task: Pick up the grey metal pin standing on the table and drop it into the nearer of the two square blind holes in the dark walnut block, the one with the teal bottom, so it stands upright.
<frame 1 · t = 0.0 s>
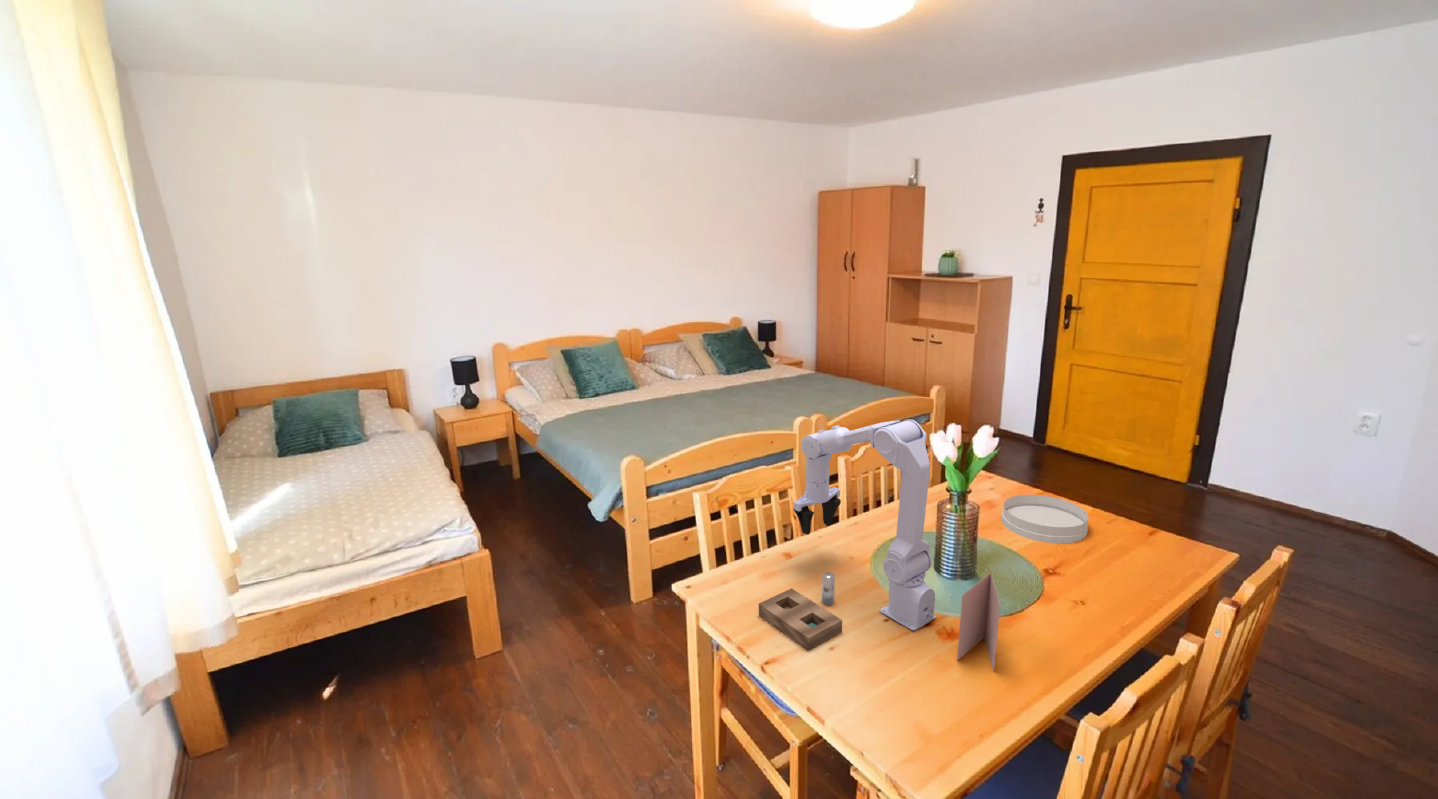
hand: (816, 528, 163), 10 cm above the table, fingers open, 7 cm apart
pin: (828, 601, 150), on the table
dish: (1043, 526, 184), on the table
greeting card: (984, 655, 130), on the table
hole block: (799, 623, 142), on the table
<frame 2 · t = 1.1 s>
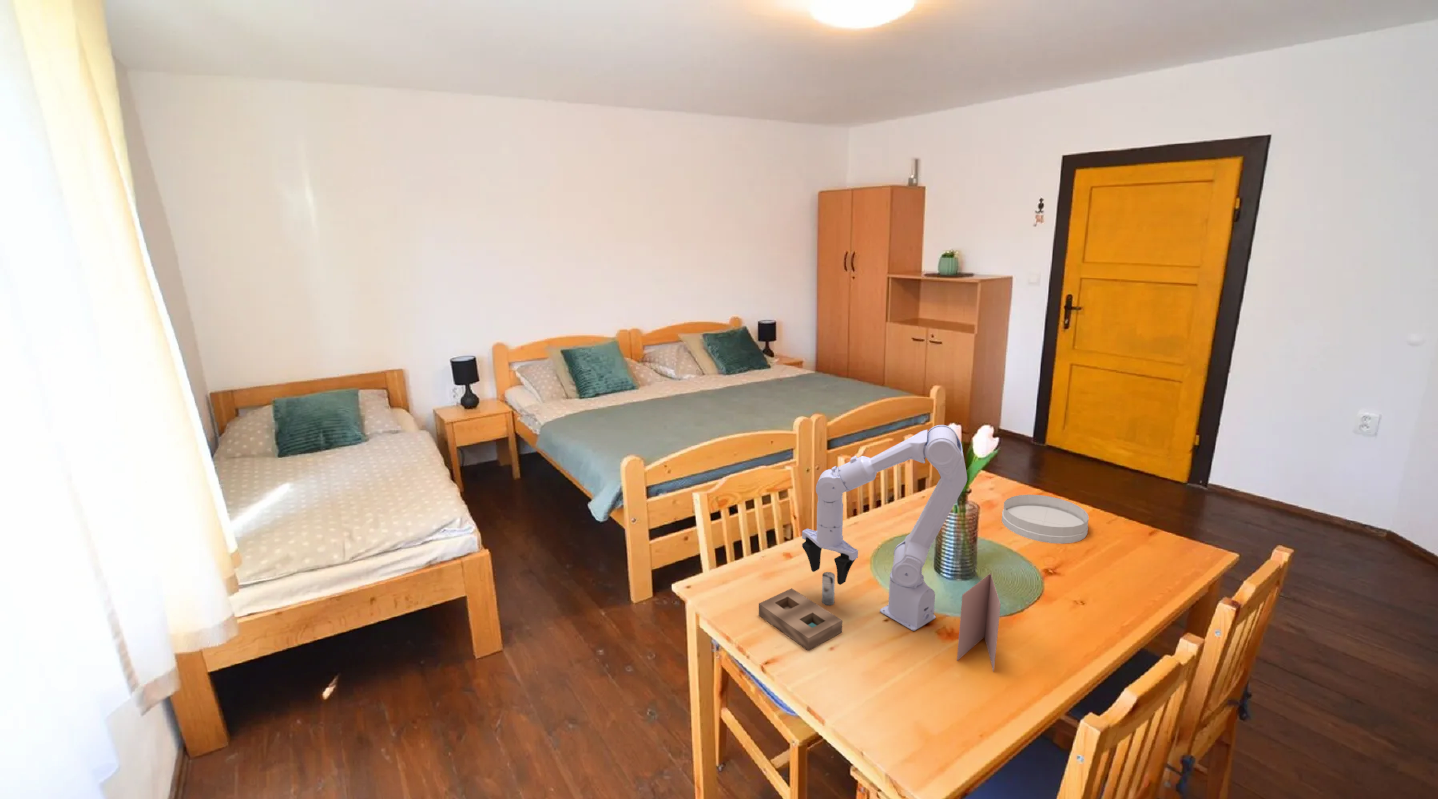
hand: (828, 576, 148), 7 cm above the table, fingers open, 7 cm apart
nothing on the table moved.
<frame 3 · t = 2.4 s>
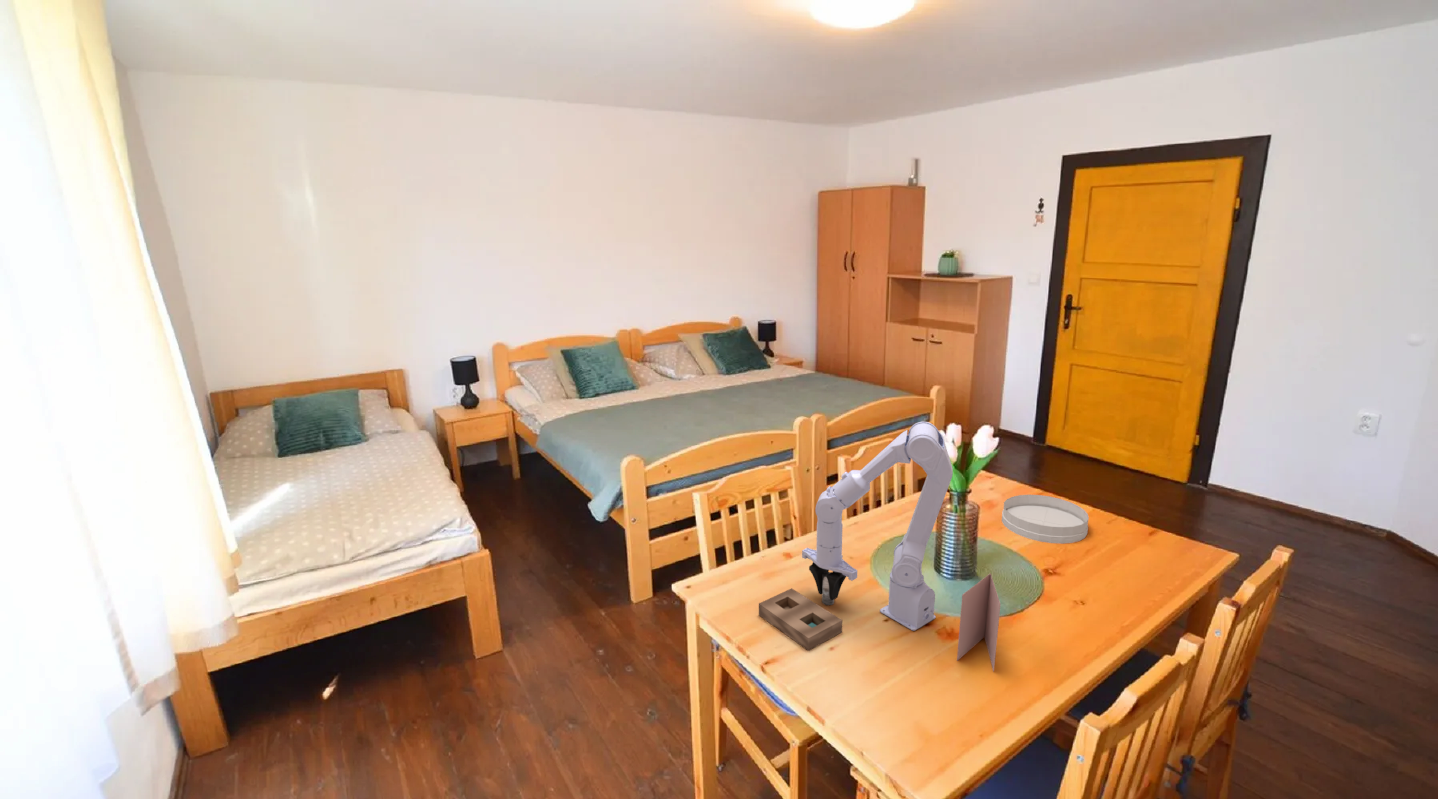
hand: (828, 595, 149), 2 cm above the table, fingers closed on pin, 3 cm apart
pin: (828, 601, 150), on the table, touching gripper
everything else where it was.
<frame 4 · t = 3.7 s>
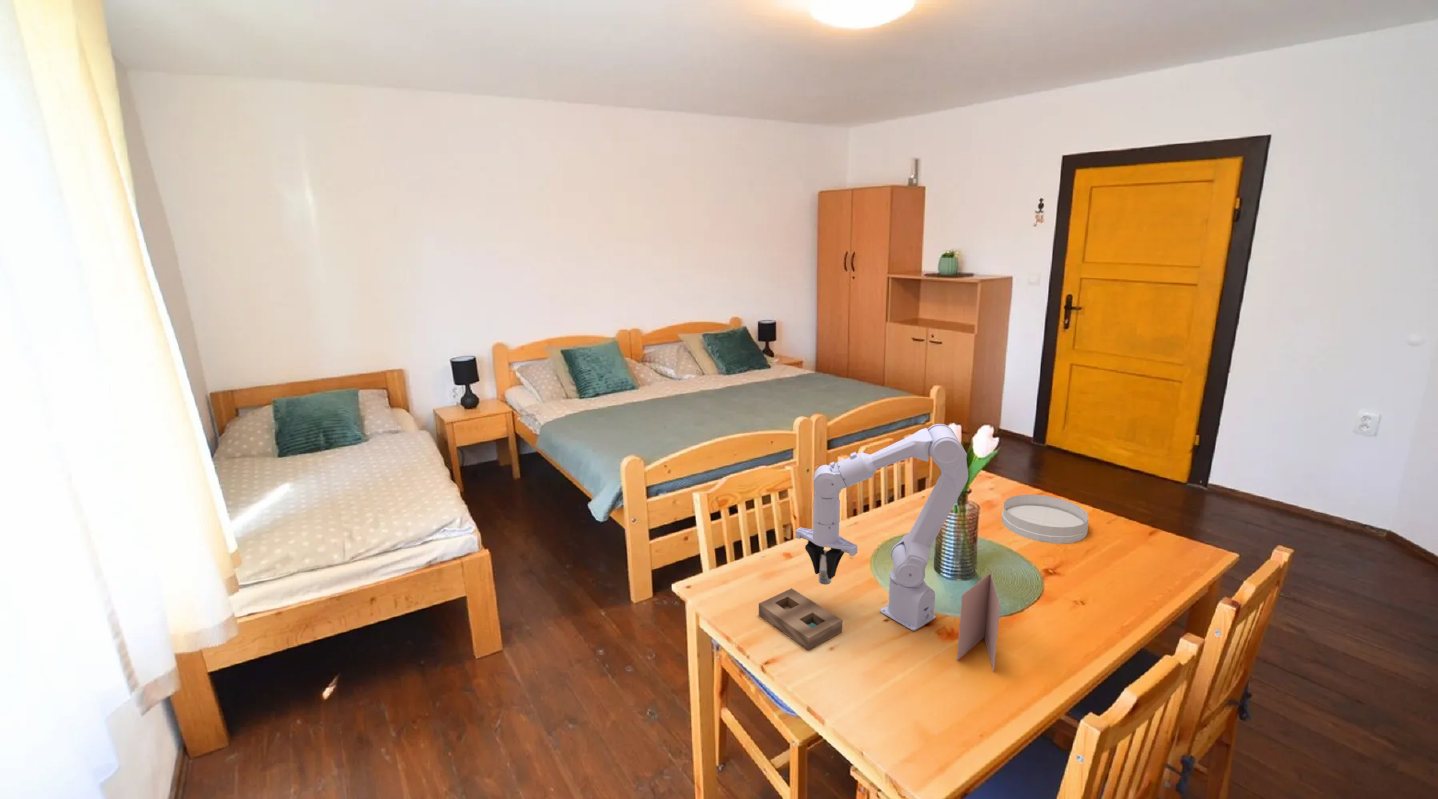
hand: (825, 574, 145), 9 cm above the table, fingers closed on pin, 3 cm apart
pin: (824, 581, 145), point 7 cm above the table, touching gripper
everything else where it was.
when the fingers open (4 cm above the table, at t = 5.5 s): pin drops 1 cm, resting on hole block.
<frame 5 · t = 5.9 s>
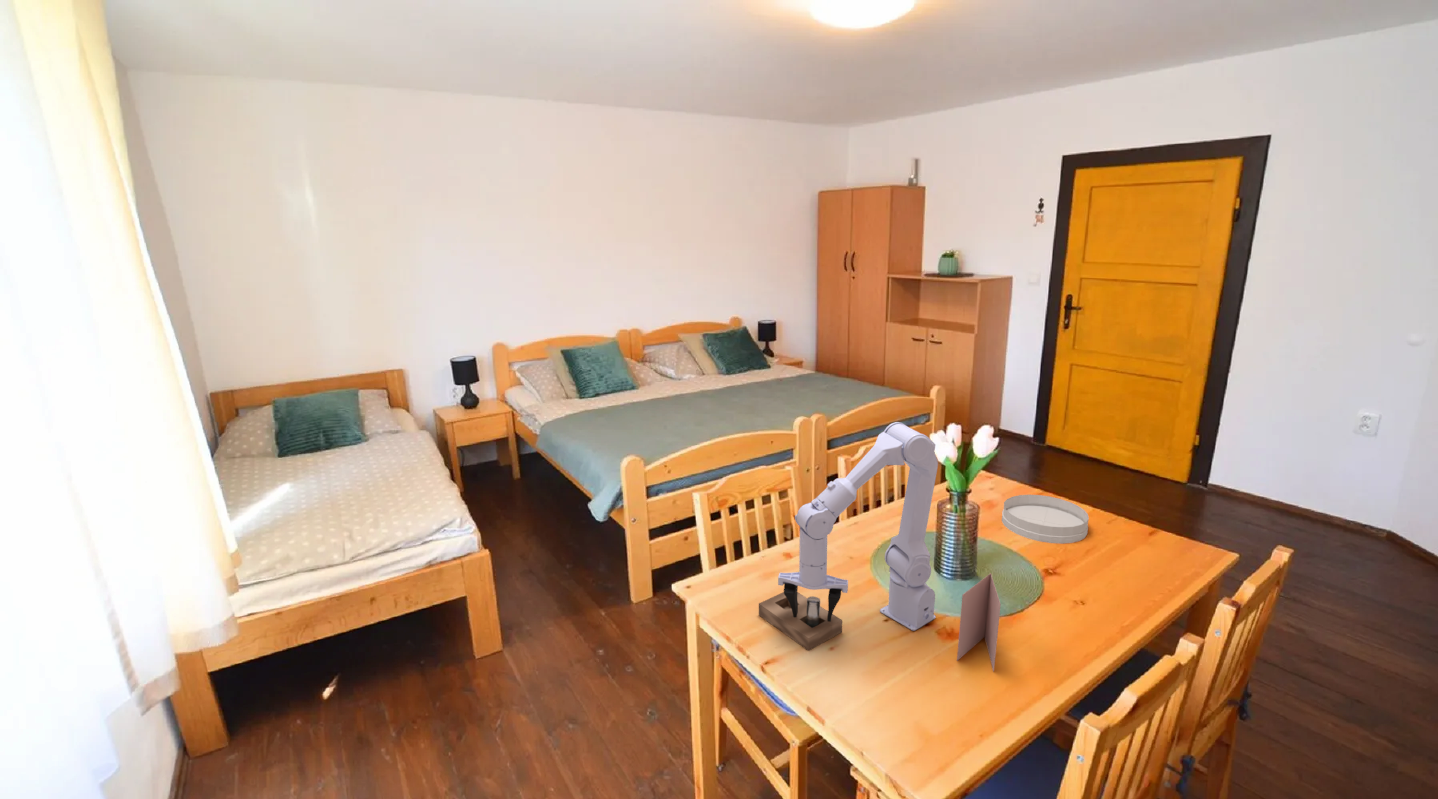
hand: (812, 616, 138), 4 cm above the table, fingers open, 7 cm apart
pin: (812, 629, 138), point 1 cm above the table, touching hole block
everything else where it was.
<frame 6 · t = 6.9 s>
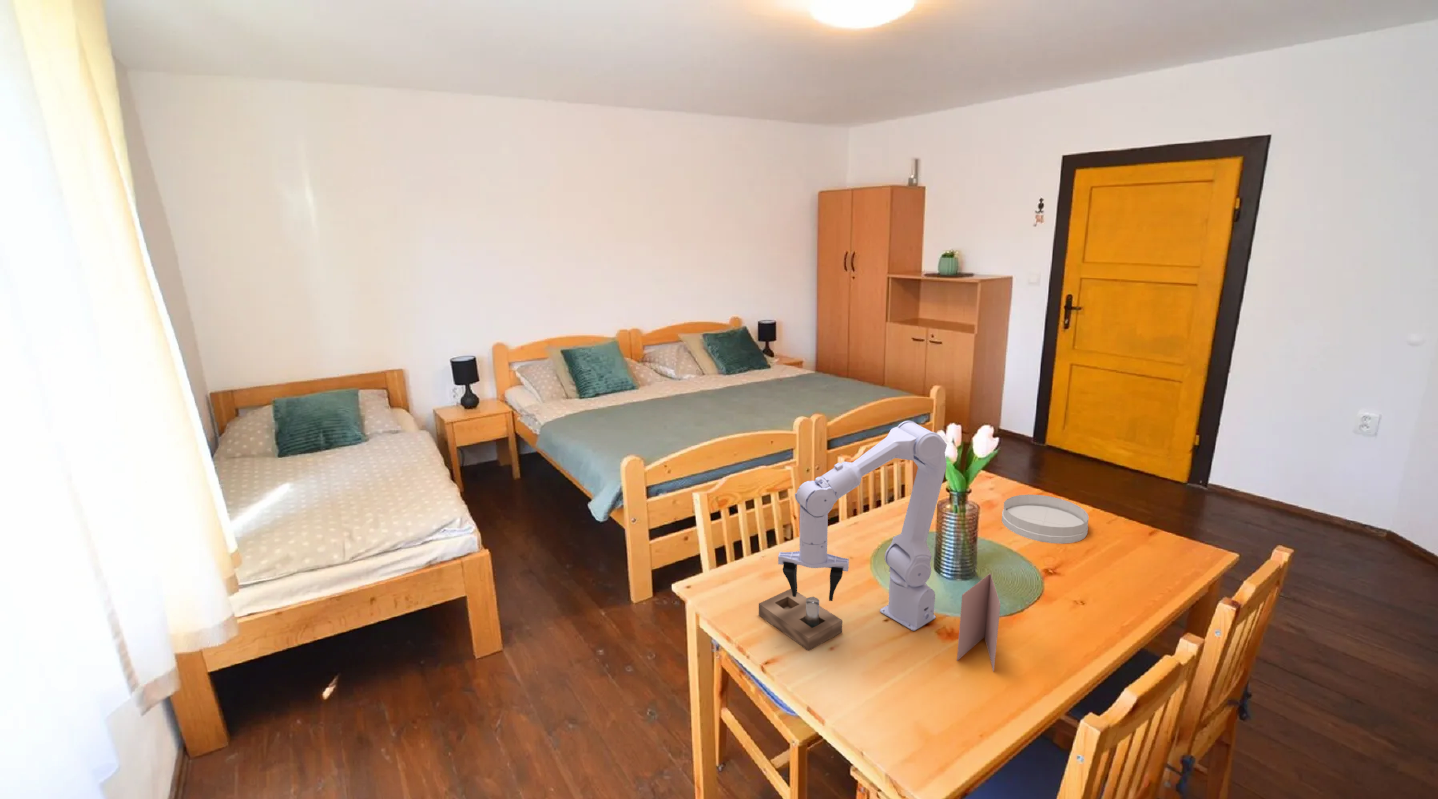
hand: (812, 596, 136), 9 cm above the table, fingers open, 7 cm apart
nothing on the table moved.
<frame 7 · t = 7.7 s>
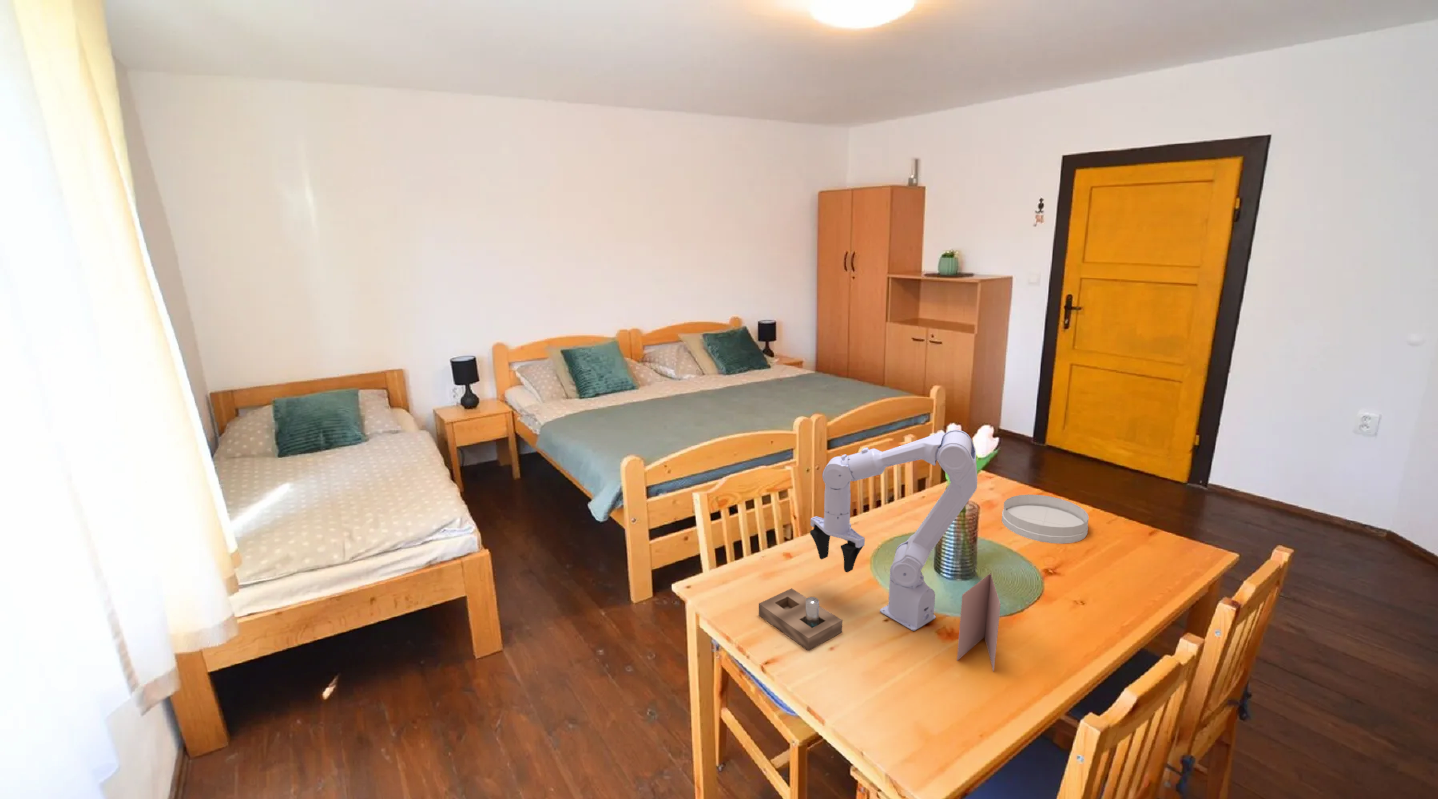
hand: (835, 564, 148), 9 cm above the table, fingers open, 7 cm apart
nothing on the table moved.
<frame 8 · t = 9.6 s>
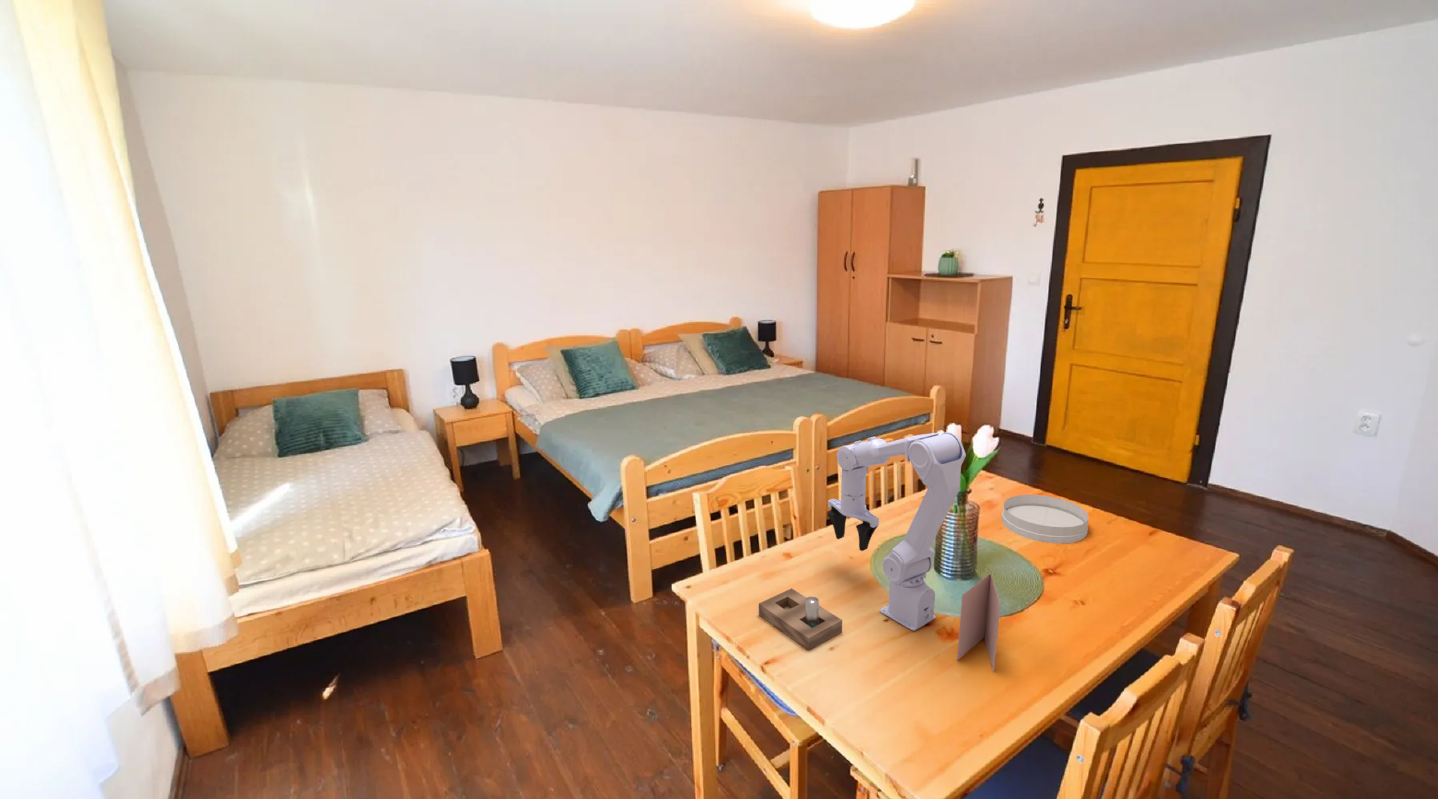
hand: (851, 543, 157), 9 cm above the table, fingers open, 7 cm apart
nothing on the table moved.
at the end: pin 0.0 cm from the target spot on the hole block, point 0.7 cm above the hole block's base; pin tilted 2°; the gripper is holding nothing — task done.
